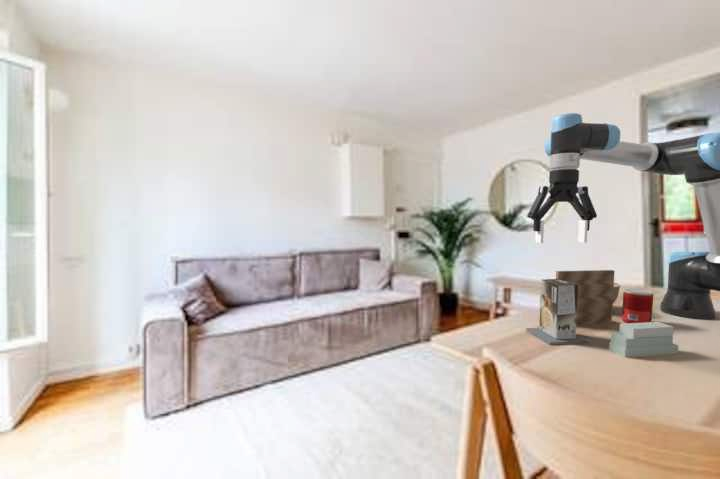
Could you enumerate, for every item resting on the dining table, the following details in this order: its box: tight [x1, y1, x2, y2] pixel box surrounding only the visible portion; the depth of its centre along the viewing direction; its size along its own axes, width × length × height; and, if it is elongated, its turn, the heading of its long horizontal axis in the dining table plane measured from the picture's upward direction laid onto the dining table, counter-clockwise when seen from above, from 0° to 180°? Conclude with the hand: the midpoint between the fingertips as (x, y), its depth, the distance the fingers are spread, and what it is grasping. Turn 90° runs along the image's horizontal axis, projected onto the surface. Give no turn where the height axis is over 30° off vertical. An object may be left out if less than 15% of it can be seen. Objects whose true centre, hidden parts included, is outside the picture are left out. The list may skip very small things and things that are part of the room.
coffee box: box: [538, 278, 578, 339], centre depth 107 cm, size 9×6×16 cm
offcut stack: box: [608, 321, 679, 358], centre depth 96 cm, size 16×5×8 cm, turn 98°
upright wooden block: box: [555, 269, 615, 325], centre depth 122 cm, size 20×6×18 cm, turn 96°
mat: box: [525, 327, 590, 346], centre depth 108 cm, size 12×12×1 cm
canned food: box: [621, 288, 654, 324], centre depth 121 cm, size 8×8×11 cm
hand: (560, 242), depth 106 cm, fingers open, 13 cm apart
